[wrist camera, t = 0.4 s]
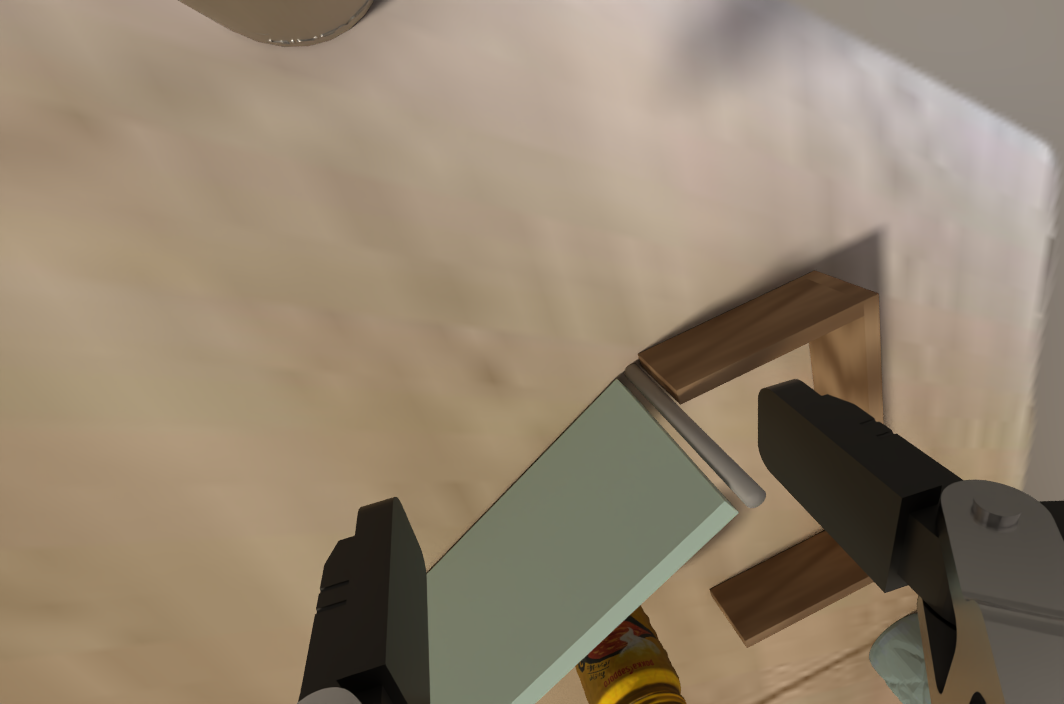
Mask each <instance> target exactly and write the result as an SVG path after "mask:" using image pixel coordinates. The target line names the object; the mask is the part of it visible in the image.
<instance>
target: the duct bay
mask: <svg viewBox="0 0 1064 704" xmlns="http://www.w3.org/2000/svg"><path fill="white" fill-rule="evenodd" d="M807 343H809V347H810V355H811V364H812V373H813V381H814V390H815V391H816V392H817V393H818V394H820V395H821V396H823V395H826V394H829V395H831V396H834V397H837V398H840V399H842V400H845V401H848V402H850V403H853V404H855V405H856V406H858V407H859V408H861V409H862V410H864V411H865V412H866V413H868V414H869V415H871V416H872V417H874V418H875V421H876V422H881V423H882V424H883V399H882V372H881V344H880V317H879V294H878V293H876V292H873V291H870V290H867V289H865V288H862V287H859V286H856V285H854V284H851V283H848V282H845V281H843V280H840V279H837V278H834V277H832V276H829V275H826V274H823V273H821V272H818V271H812V272H810V273H808V274H806V275H804V276H802V277H800V278H798V279H796V280H793V281H791V282H789V283H787V284H785V285H783V286H781V287H779V288H776V289H774V290H772V291H770V292H768V293H766V294H764V295H762V296H760V297H757V298H755V299H753V300H751V301H749V302H747V303H745V304H743V305H740V306H738V307H736V308H734V309H732V310H730V311H728V312H726V313H724V314H721V315H719V316H717V317H715V318H713V319H711V320H709V321H707V322H704V323H702V324H700V325H698V326H696V327H694V328H692V329H690V330H688V331H685V332H683V333H681V334H679V335H677V336H675V337H673V338H671V339H669V340H666V341H664V342H662V343H660V344H658V345H656V346H654V347H652V348H649V349H647V350H645V351H643V352H641V353H639V354H638V356H639V360H640V363H641V366H642V367H643V368H644V369H645V370H646V371H647V372H648V373H649V374H650V375H651V376H652V377H653V378H654V379H655V380H656V381H657V382H658V383H659V384H660V385H661V386H662V387H663V388H664V389H665V390H666V391H667V392H668V393H669V394H670V395H671V396H672V397H673V398H674V399H675V400H676V401H677V402H678V403H679V404H683V403H685V402H687V401H689V400H691V399H693V398H695V397H697V396H699V395H701V394H703V393H705V392H707V391H709V390H712V389H714V388H716V387H718V386H720V385H722V384H724V383H726V382H728V381H730V380H732V379H734V378H736V377H738V376H741V375H743V374H745V373H747V372H749V371H751V370H753V369H755V368H757V367H759V366H761V365H763V364H765V363H767V362H770V361H772V360H774V359H776V358H778V357H780V356H782V355H784V354H786V353H788V352H790V351H792V350H794V349H796V348H799V347H801V346H803V345H805V344H807ZM872 582H874V581H873V580H872V579H871V578H870V577H869V576H868V575H867V574H866V573H865V572H864V571H863V570H862V568H861V567H860V566H859V565H858V564H857V563H856V562H855V561H854V560H853V559H852V558H851V557H850V556H849V555H848V554H847V553H846V552H845V551H844V550H843V548H842V547H841V546H840V545H839V544H838V543H837V542H836V541H835V540H834V539H833V538H832V537H831V536H830V535H829V534H828V533H827V532H826V531H823V532H821V533H819V534H817V535H815V536H813V537H811V538H809V539H807V540H805V541H803V542H801V543H800V544H798V545H796V546H794V547H792V548H790V549H788V550H786V551H784V552H782V553H780V554H778V555H776V556H774V557H772V558H770V559H768V560H766V561H764V562H762V563H760V564H759V565H757V566H755V567H753V568H751V569H749V570H747V571H745V572H743V573H741V574H739V575H737V576H735V577H733V578H731V579H729V580H727V581H725V582H723V583H721V584H719V585H718V586H716V587H714V588H712V589H710V592H711V595H712V597H713V599H714V600H715V602H716V603H717V605H718V606H719V608H720V609H721V611H722V612H723V614H724V615H725V616H726V618H727V619H728V621H729V622H730V624H731V625H732V627H733V628H734V630H735V631H736V633H737V634H738V635H739V637H740V638H741V640H742V641H743V643H744V644H745V646H746V647H747V648H748V647H750V646H752V645H754V644H756V643H758V642H760V641H761V640H763V639H765V638H767V637H769V636H771V635H773V634H775V633H777V632H779V631H781V630H783V629H784V628H786V627H788V626H790V625H792V624H794V623H796V622H798V621H800V620H802V619H804V618H805V617H807V616H809V615H811V614H813V613H815V612H817V611H819V610H821V609H823V608H825V607H826V606H828V605H830V604H832V603H834V602H836V601H838V600H840V599H842V598H844V597H846V596H847V595H849V594H851V593H853V592H855V591H857V590H859V589H861V588H863V587H865V586H867V585H868V584H870V583H872Z"/></svg>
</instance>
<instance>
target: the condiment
mask: <svg viewBox="0 0 1064 704" xmlns="http://www.w3.org/2000/svg"><path fill="white" fill-rule="evenodd" d="M576 670H577V673H578V675H579V678H580V680H581V683H582V686H583V689H584V691H585V695H586V698H587V700H588V703H589V704H686V702H685V699H684V698H683V697H682V695H680V693H681V687H680V681H679V677H678V675H677V673H676V671H675V669H674V668H673V666H672V665H671V662H670V660H669V658H668V654H667V652H666V650H665V649H664V648H663V646H662V644H661V643H660V641H659V640H658V637H657V634H656V632H655V630H654V629H653V628H652V626H651V624H650V621H649V617H648V616H647V615H646V614H645V613H644V611H643V609H642V607H641V605H640V606H639V607H638V608H637V609H636V610H634V611H633V612H632V613H631V614H630V615H629V616H628V617H627V618H626V619H625V620H624V621H623V622H622V623H621V624H620V625H618V626H617V627H616V628H615V629H614V630H613V631H612V632H611V633H610V634H609V635H608V636H607V637H606V638H605V639H604V640H602V641H601V642H600V643H599V644H598V645H597V646H596V647H595V648H594V649H593V650H592V651H591V652H590V653H589V654H587V655H586V656H585V657H584V658H583V659H582V660H581V661H580V662H579V663H578V664H577V665H576Z"/></svg>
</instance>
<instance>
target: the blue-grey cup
mask: <svg viewBox="0 0 1064 704" xmlns="http://www.w3.org/2000/svg"><path fill="white" fill-rule="evenodd" d="M869 659H870V662H871V664H872V666H873V667H874V669H875V670H876V671H877V673H878V674H879V675H880V676H881V677H882V678H883V679H884V680H885V681H886V684H887V685H888V687H889V688H890V689H891V690H892V692H893V693H894V694H895V695H896V696H897V697H898V698H899V700H900V701H901V702H902V703H903V704H931V699H930V692H929V686H928V679H927V672H926V666H925V659H924V653H923V646H922V639H921V633H920V626H919V619H918V613H916V614H912V615H909V616H906V617H904V618H902V619H900V620H899V621H897V622H895V623H894V624H892V625H891V626H890V627H889V628H887V629H886V630H885V631H884V632H883V633H882V634H881V635H880V636H879V637H878V639H877V640H876V641H875V643H874V644H873V646H872V648H871V650H870V654H869Z"/></svg>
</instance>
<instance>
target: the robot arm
mask: <svg viewBox="0 0 1064 704" xmlns="http://www.w3.org/2000/svg"><path fill="white" fill-rule="evenodd" d="M178 1H180V2H182V3H183V4H185V5H187V6H189V7H191V8H192V9H194V10H196V11H198V12H199V13H201V14H203V15H205V16H206V17H208V18H210V19H212V20H214V21H215V22H217V23H219V24H221V25H223V26H224V27H226V28H228V29H230V30H232V31H234V32H236V33H239V34H241V35H243V36H246V37H248V38H251V39H253V40H255V41H258V42H262V43H267V44H272V45H277V46H282V47H297V46H311V45H314V44H318V43H322V42H326V41H329V40H332V39H333V38H335V37H337V36H339V35H340V34H342V33H344V32H346V31H347V30H349V29H350V28H351V27H352V26H354V25H355V24H356V23H357V22H358V21H359V20H360V19H361V18H362V17H363V16H364V15H365V14H366V13H367V11H368V9H369V8H370V6H371V5H372V3H373V1H374V0H178ZM758 448H759V452H760V455H761V458H762V460H763V462H764V464H765V466H766V467H767V469H768V470H769V471H770V472H771V474H772V475H773V476H774V477H775V478H776V479H777V480H778V481H779V482H780V483H781V484H782V485H783V486H784V487H785V488H786V489H787V490H788V492H789V493H790V494H791V495H792V496H793V497H794V498H795V499H796V500H797V501H798V502H799V503H800V504H801V505H802V506H803V507H804V508H805V509H806V510H807V512H808V513H809V514H810V515H811V516H812V517H813V518H814V519H815V520H816V521H817V522H818V523H819V524H820V525H821V526H822V527H823V528H824V529H825V531H826V532H827V533H828V534H829V535H830V536H831V537H832V538H833V539H834V540H835V541H836V542H837V543H838V544H839V545H840V546H841V547H842V548H843V550H844V551H845V552H846V553H847V554H848V555H849V556H850V557H851V558H852V559H853V560H854V561H855V562H856V563H857V564H858V565H859V566H860V567H861V568H862V570H863V571H864V572H865V573H866V574H867V575H868V576H869V577H870V578H871V579H872V580H873V581H874V582H875V583H876V584H877V585H878V586H879V587H880V589H881V590H882V591H883V592H884V593H886V592H889V591H892V590H895V589H898V588H901V587H904V586H907V585H909V586H910V587H911V588H912V589H913V590H914V591H915V592H916V593H917V594H918V599H917V613H918V619H919V626H920V633H921V639H922V646H923V653H924V659H925V666H926V672H927V679H928V686H929V692H930V699H931V704H1064V501H1043V502H1039V501H1037V500H1036V499H1034V498H1033V497H1031V496H1029V495H1028V494H1026V493H1024V492H1022V491H1020V490H1018V489H1015V488H1013V487H1010V486H1007V485H1004V484H1000V483H996V482H991V481H986V480H962V479H961V478H959V477H958V476H957V475H955V474H954V473H952V472H951V471H949V470H948V469H946V468H945V467H944V466H942V465H941V464H939V463H938V462H936V461H935V460H934V459H932V458H931V457H929V456H928V455H926V454H925V453H924V452H922V451H921V450H919V449H918V448H916V447H915V446H914V445H912V444H911V443H909V442H908V441H906V440H905V439H904V438H902V437H901V436H899V435H898V434H893V432H892V430H891V429H889V428H888V427H886V426H885V425H884V424H882V423H881V422H876V421H875V418H874V417H872V416H871V415H869V414H868V413H866V412H865V411H864V410H862V409H861V408H859V407H858V406H856V405H855V404H853V403H850V402H848V401H845V400H842V399H840V398H837V397H834V396H831V395H829V394H826V395H823V396H821V395H820V394H818V393H817V392H816V391H814V390H813V389H812V388H810V387H809V386H808V385H806V384H805V383H803V382H802V381H800V380H798V379H793V380H789V381H786V382H783V383H779V384H776V385H773V386H769V387H766V388H763V389H761V390H760V392H759V395H758ZM320 590H321V593H320V594H319V596H318V602H317V607H316V610H317V614H315V618H314V623H313V628H312V634H311V639H310V644H309V650H308V655H307V661H306V666H305V671H304V677H303V682H302V687H301V693H300V696H299V700H298V703H297V704H430V673H429V639H428V605H427V576H426V568H425V562H424V558H423V554H422V551H421V548H420V546H419V543H418V541H417V539H416V536H415V534H414V532H413V529H412V527H411V525H410V523H409V520H408V518H407V516H406V513H405V511H404V509H403V506H402V504H401V502H400V500H399V499H398V498H397V497H393V498H390V499H386V500H383V501H380V502H376V503H373V504H370V505H366V506H363V507H360V509H359V511H358V516H357V524H356V531H355V536H353V537H349V538H346V539H343V540H340V541H338V543H337V545H336V546H335V548H334V550H333V551H332V553H331V555H330V556H329V558H328V560H327V561H326V563H325V565H324V570H323V575H322V580H321V586H320Z"/></svg>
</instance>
